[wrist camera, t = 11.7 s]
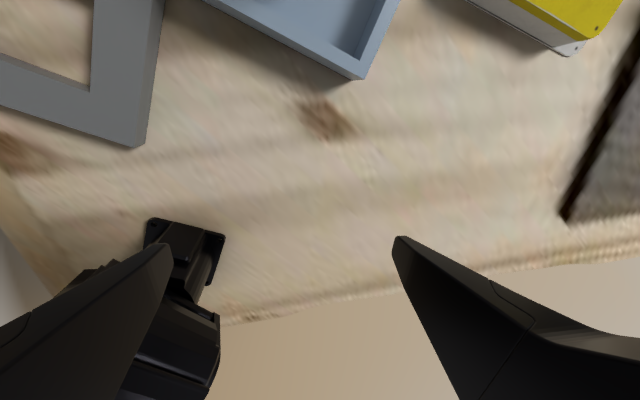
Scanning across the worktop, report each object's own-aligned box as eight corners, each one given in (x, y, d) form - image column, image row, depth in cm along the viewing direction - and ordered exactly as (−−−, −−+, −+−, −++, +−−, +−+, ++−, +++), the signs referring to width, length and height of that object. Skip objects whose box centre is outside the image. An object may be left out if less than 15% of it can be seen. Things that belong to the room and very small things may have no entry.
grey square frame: (144, 143, 18) (133, 147, 16) (-55, 76, 14) (-90, 76, 13) (169, -28, 14) (157, -40, 12) (-97, -173, 10) (-152, -210, 9)
